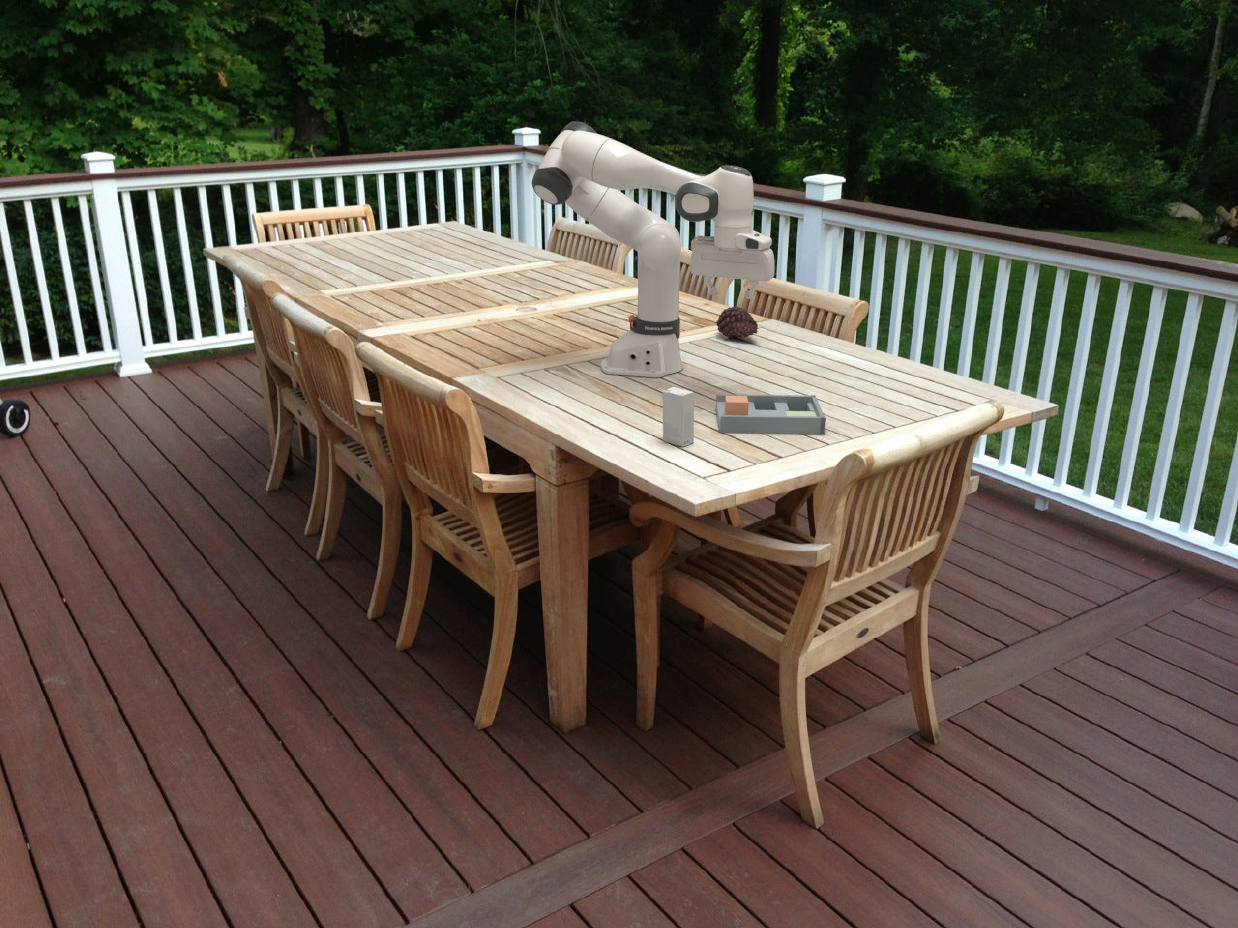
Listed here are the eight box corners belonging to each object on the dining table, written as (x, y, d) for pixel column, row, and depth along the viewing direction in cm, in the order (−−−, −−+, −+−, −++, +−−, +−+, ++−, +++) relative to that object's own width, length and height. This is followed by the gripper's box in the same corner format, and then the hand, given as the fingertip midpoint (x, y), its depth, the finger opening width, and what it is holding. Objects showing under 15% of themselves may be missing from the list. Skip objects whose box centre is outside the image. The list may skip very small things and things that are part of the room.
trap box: (720, 432, 251) (720, 416, 250) (715, 409, 267) (716, 393, 266) (824, 434, 251) (825, 418, 250) (813, 410, 267) (815, 395, 265)
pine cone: (767, 344, 323) (769, 311, 320) (740, 348, 318) (742, 315, 315) (730, 331, 337) (732, 299, 334) (704, 335, 332) (705, 303, 329)
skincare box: (694, 443, 245) (696, 391, 241) (681, 448, 242) (683, 396, 238) (673, 436, 249) (675, 385, 245) (660, 441, 246) (661, 389, 241)
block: (726, 418, 253) (726, 402, 252) (724, 411, 258) (725, 395, 256) (747, 419, 253) (748, 402, 252) (745, 412, 258) (746, 396, 256)
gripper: (686, 236, 256) (685, 295, 261) (769, 243, 248) (766, 303, 253) (696, 232, 262) (694, 289, 267) (778, 239, 254) (775, 298, 259)
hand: (730, 296), depth 260 cm, fingers open, 8 cm apart
